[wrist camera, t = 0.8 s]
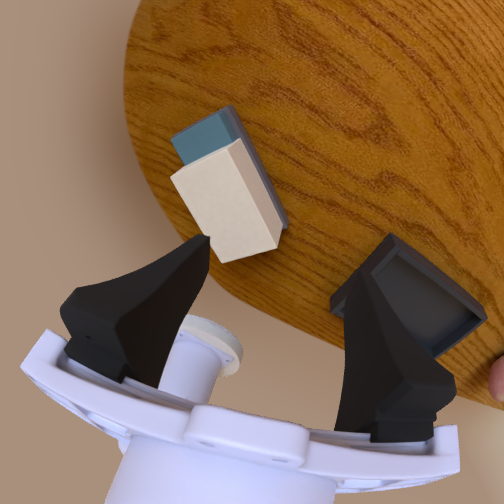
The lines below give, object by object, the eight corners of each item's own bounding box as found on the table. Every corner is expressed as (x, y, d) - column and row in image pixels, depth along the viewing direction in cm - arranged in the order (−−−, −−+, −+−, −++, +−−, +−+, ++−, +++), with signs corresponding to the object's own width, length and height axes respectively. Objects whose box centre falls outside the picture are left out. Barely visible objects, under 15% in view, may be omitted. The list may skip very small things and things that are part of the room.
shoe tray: (330, 297, 26) (329, 312, 24) (390, 231, 20) (395, 245, 19) (429, 348, 27) (432, 362, 26) (482, 305, 22) (488, 318, 20)
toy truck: (289, 220, 22) (282, 252, 18) (237, 237, 24) (222, 268, 20) (232, 104, 17) (210, 111, 14) (179, 132, 19) (149, 147, 16)
